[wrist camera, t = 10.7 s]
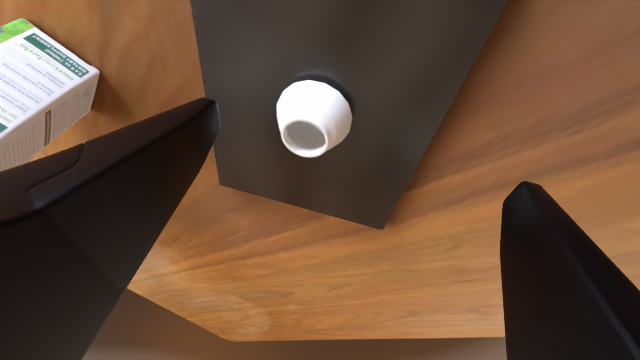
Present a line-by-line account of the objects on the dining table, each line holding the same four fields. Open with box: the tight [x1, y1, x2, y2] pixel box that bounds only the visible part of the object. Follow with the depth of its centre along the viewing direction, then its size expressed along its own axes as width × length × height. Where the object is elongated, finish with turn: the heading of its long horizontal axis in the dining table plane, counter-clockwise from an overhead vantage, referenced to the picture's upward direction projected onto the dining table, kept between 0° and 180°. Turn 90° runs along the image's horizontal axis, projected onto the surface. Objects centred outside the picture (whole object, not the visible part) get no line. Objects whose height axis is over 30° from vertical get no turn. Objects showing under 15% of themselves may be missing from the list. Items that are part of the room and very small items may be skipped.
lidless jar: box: [277, 80, 352, 157], centre depth 20 cm, size 5×3×5 cm
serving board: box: [190, 0, 508, 230], centre depth 21 cm, size 16×22×1 cm
